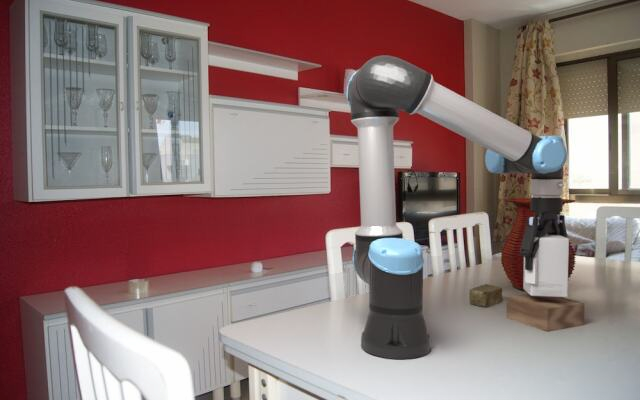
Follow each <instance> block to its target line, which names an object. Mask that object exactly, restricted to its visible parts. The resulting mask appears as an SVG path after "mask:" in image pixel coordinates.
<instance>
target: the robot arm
mask: <svg viewBox="0 0 640 400" xmlns="http://www.w3.org/2000/svg"><path fill="white" fill-rule="evenodd" d="M346 101H347V104H348V105H349V107H350V122H351V123H352V125H354V126H355V128H356V129H357V147H358V149H357V150H358V174H359V175H358V176H359V177H358V179H359V180H358V181H359V204H360V205H359V206H360V227H358V229H357V230H356V231H355V233H354V235H355V237H354V238H355V246H354V249H353V252H352V265H353V269H354V271H355V273H356V274H357V275H358V277H359V278H360V279H361V280H362V281H363V283H366V284H367V285H369V286H368V288H369V289H368V290H369V291H368V296H369V298H368V301H369V302H368V304H369V305H368V308H369V309H368V314H367V319H366V322H365V326H364V329H363V331H362V332H361V333H362V334H361V337H360V341H361V343H360V344H361V345H360V346H361V349H362V350H364V351H365V353H368V354H371V355H374V356H377V357H381V358H385V359H396V360H397V359H398V360H399V359H400V360H403V359H413V358H415V359H416V358H420V357H422V356H425V355H427V354H429V353H430V351H431V344H432V343H431V341H432V340H431V336H430V334H429V333H428V328H427V323H426V321H425V318H424V313H423V303H424V301H423V299H424V292H423V291H424V265H425V260H424V255H423V254H424V252H423V249H422V246H421V245H420V244H419V243H418V242H415V241H414V240H410V239H405V238H403V237H404V236H403V235H404V233H403V230H402V229H401V228H400V227H398V226H397V214H396V213H397V212H396V211H397V208H396V190H395V189H396V185H395V183H396V180H395V178H396V177H395V151H394V150H395V149H394V145H395V144H394V126H395V125H396V124H397V123H398V121H399V120H400V113H399V111H402V112H404V113H406V114H408V115H413V114H417V115H418V114H419V115H420V116H422V117H425V118H427V119H428V120H430V121H432V122H434V123H436V124H438V125H440V126H442V127H444V128H446V129H448V130H449V131H452V132H454V133H455V134H458V135H460V136H462V138H463V137H464V138H466V139H468V140H470V141H471V142H473V143H476V144H477V145H479V146H481V147H482V148H486V151H485V157H484V158H485V159H484V161H485V166H486V169H487V170H488V172H489V173H491V174H500V175H503V174H530V195H531V197H530V198H531V205H530V210H531V211H532V212H535V217H527V222H526V229H525V233H524V236H523V240H522V244H521V248H520V251H519V254H520V255H521V256H523V257H525V282H527V283H532V284H537V258H535V255H536V253H537V250H538V248H539V239H540V238H541V237H543V236H545V235H546V234H547V233H548V235H560V236H563V237H566V238H569V236H568V233H567V228H566V224H565V221H566V220H565V215H564V214H560V215H557V213H559V212H560V213H562V212H563V207H564V205H563V199H564V198H562V197H561V196H563V193H564V192H563V188H564V186H565V185H564V165H565V163H566V161H567V157H568V152H567V151H568V150H567V148H566V146H565V144H564V139H563V137H562V136H561V135H560V136H559V135H537V134H535V133H532V132H531V131H528V130H526V129H524V128H523V127H521V126H519V125H517V124H515V123H513V122H511V121H509V120H508V119H506V118H504V117H502V116H500V115H498V114H496V113H494V112H493V111H491V110H489V109H486V108H485V107H483V106H482V105H479V104H477V103H475V102H473V101H471V100H469V99H468V98H466V97H464V96H462V95H460V94H458V93H457V92H455V91H453V90H451V89H449V88H447V87H446V86H443V85H441V84H440V83H438V82H436V81H435V80H434V77H433V74H431V73H429V72H428V71H426V70H424V69H422V68H421V67H418V66H416V65H414V64H412V63H410V62H408V61H406V60H403V59H402V58H400V57H396V56H393V55H387V54H386V55H378V56H374V57H371V59H368V60H367V61H366V62H365V63H364V64H363V65H362V66H361V67H360V68H359V69H357V70H356V71H355V72H354V73H353V74H352V75H351V77H350V79H349V80H348V83H347V87H346ZM535 237H538V240H536V241H535V242H534V240H535ZM569 248H570V246H569ZM531 252H532V253H531Z"/></svg>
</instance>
